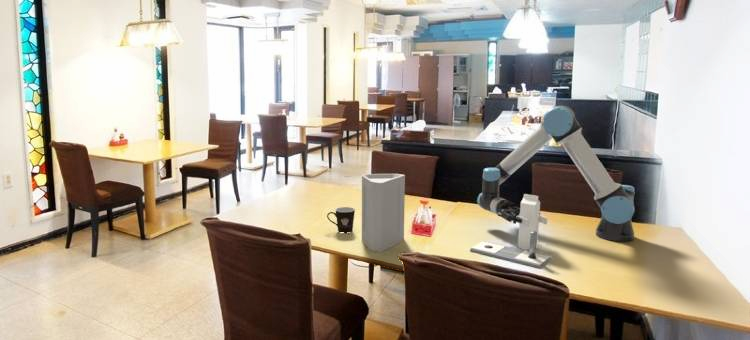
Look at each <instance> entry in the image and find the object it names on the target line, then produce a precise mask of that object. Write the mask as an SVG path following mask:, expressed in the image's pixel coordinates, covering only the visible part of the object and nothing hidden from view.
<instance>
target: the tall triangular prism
mask: <svg viewBox="0 0 750 340" xmlns="http://www.w3.org/2000/svg"><path fill="white" fill-rule="evenodd" d="M405 187H406V175H405V174H400V173H367V174H366V173H365V174H362V175H361V241H362V242H363V243H364V244H365V246H367V248H369V250H370V251H373V252H378V253H382V252H384V251H386V250H388V249H389V248H391V247H393V246H395V245H398V243H401V242H402V241H404V239H405V200H406V199H405V197H406V196H405V195H406V193H405V192H406V188H405Z"/></svg>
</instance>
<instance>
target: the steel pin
mask: <svg viewBox="0 0 750 340" xmlns="http://www.w3.org/2000/svg"><path fill="white" fill-rule="evenodd" d="M536 245H537V246H538V242H537V232H536V231H531V234H530V249H529V250H528V251H529V257H530V258H536V253H537V247H536Z"/></svg>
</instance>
